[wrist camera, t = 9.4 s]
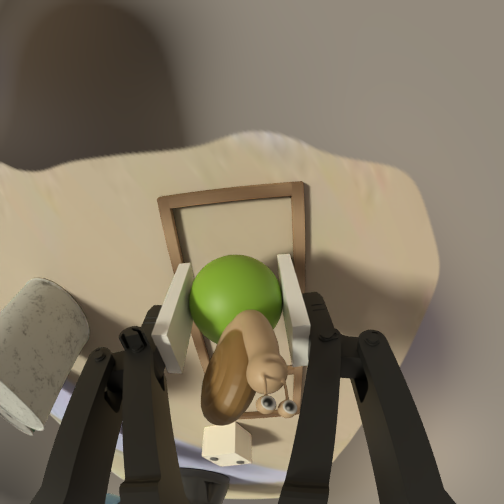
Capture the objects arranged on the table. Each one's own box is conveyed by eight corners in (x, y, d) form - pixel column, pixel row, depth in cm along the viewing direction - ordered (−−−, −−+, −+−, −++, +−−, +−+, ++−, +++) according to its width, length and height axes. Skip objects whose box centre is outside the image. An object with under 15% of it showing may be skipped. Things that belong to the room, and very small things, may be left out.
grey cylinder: (36, 260, 21) (-40, 339, 10) (103, 323, 24) (54, 424, 13) (17, 306, 23) (-35, 374, 12) (73, 357, 27) (35, 435, 16)
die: (251, 434, 34) (252, 464, 29) (221, 439, 35) (220, 467, 30) (235, 421, 32) (234, 453, 27) (204, 426, 33) (201, 457, 28)
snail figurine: (300, 247, 17) (359, 419, 7) (256, 318, 20) (262, 477, 9) (221, 211, 16) (179, 383, 6) (186, 292, 19) (142, 453, 8)
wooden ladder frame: (298, 410, 31) (299, 414, 30) (222, 415, 31) (221, 419, 31) (301, 181, 18) (303, 183, 18) (159, 196, 19) (156, 199, 18)
